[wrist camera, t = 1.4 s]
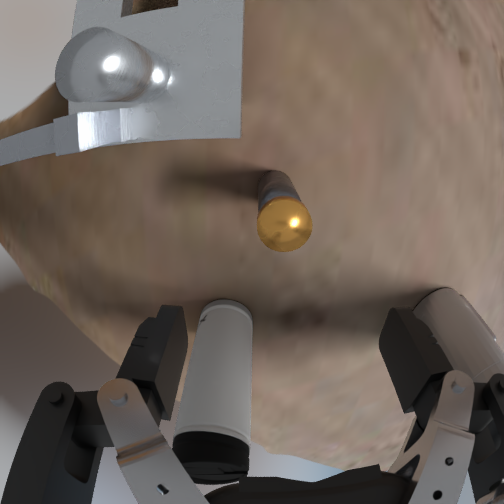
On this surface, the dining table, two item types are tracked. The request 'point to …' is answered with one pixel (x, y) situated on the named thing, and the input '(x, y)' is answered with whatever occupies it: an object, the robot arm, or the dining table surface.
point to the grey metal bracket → (144, 78)
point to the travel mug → (217, 397)
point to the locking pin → (281, 213)
